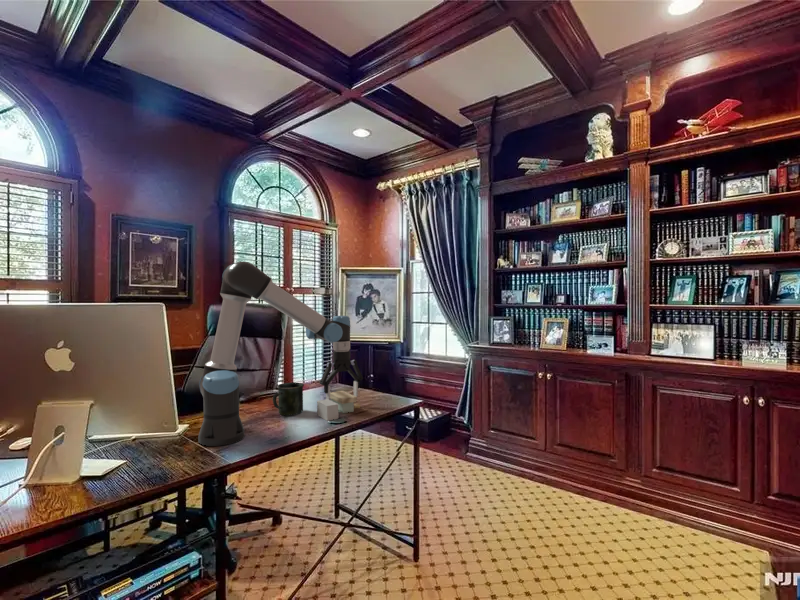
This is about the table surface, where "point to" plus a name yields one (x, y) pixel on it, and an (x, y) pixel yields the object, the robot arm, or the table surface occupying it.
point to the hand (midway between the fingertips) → (342, 398)
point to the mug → (289, 398)
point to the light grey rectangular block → (327, 409)
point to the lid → (343, 397)
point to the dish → (345, 407)
